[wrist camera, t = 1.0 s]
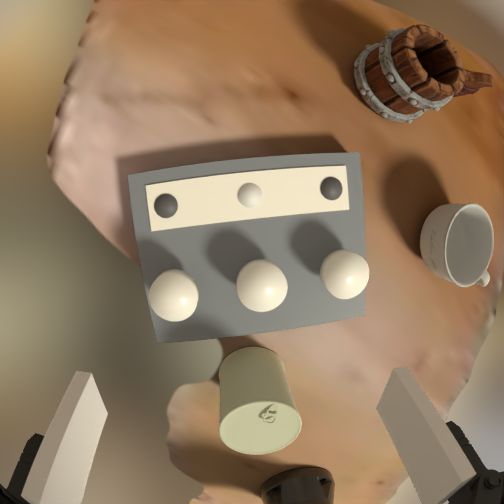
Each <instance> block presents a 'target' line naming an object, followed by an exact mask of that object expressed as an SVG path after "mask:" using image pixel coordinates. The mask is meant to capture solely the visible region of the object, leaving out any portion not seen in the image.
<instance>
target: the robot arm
mask: <svg viewBox="0 0 504 504" xmlns="http://www.w3.org/2000/svg"><path fill="white" fill-rule="evenodd" d="M376 409H377V411H378V413H379V415H380V417H381V419H382V421H383V423H384V425H385V427H386V429H387V431H388V433H389V435H390V437H391V439H392V441H393V443H394V445H395V447H396V449H397V451H398V453H399V455H400V457H401V459H402V462H403V464H404V466H405V468H406V470H407V472H408V474H409V476H410V479H411V481H412V483H413V485H414V487H415V489H416V492H417V494H418V496H419V498H420V500H421V503H422V504H443V503H444V502H445V501H447V500H448V501H449V503H448V504H504V472H498V471H496V470H488V469H487V468H486V467H485V466H484V464H483V463H482V461H481V460H480V458H479V456H478V455H477V453H476V452H475V450H474V448H473V447H472V445H471V444H469V443H470V442H469V441H468V439H467V438H466V437H465V435H464V433H463V431H462V430H461V428H460V427H459V426H457V425H456V424H455V423H453V422H452V421H450V422H447V423H445V422H444V420H443V419H442V417H441V416H440V414H439V413H438V411H437V410H436V408H435V407H434V405H433V404H432V402H431V401H430V399H429V398H428V396H427V395H426V393H425V392H424V390H423V389H422V388H421V386H420V385H419V383H418V382H417V380H416V379H415V377H414V376H413V375H412V373H411V372H410V370H409V369H408V367H407V366H405V367H400V368H395V369H393V371H392V373H391V376H390V378H389V381H388V383H387V385H386V388H385V390H384V392H383V394H382V397H381V399H380V401H379V403H378V405H377V408H376ZM107 415H108V413H107V411H106V409H105V406H104V404H103V401H102V399H101V396H100V394H99V391H98V389H97V386H96V384H95V381H94V378H93V376H92V373H87V372H80V371H76V373H75V375H74V377H73V379H72V381H71V383H70V384H69V387H68V389H67V390H66V392H65V394H64V396H63V398H62V400H61V402H60V405H59V406H58V409H57V411H56V413H55V415H54V417H53V419H52V421H51V423H50V426H49V427H48V430H47V432H46V434H45V436H42V435H39V434H36V433H35V434H34V435H33V436H32V437H31V438H30V439H29V440H28V441H27V443H26V445H25V448H24V450H23V453H22V454H21V457H20V461H18V464H17V466H16V468H15V471H14V473H13V476H12V478H11V481H10V483H9V486H8V488H7V489H5V488H4V487H3V486H2V485H1V484H0V504H81V502H82V498H83V494H84V491H85V487H86V483H87V479H88V475H89V472H90V469H91V465H92V462H93V458H94V455H95V452H96V449H97V445H98V442H99V439H100V436H101V433H102V430H103V427H104V424H105V420H106V418H107ZM334 487H335V484H334V480H333V477H332V475H331V473H330V472H329V471H327V470H325V469H322V468H316V467H307V468H299V469H294V470H290V471H286V472H283V473H280V474H278V475H276V476H274V477H272V478H270V479H269V480H268V481H266V482H265V483H264V484H263V486H262V487H261V497H262V501H263V503H264V504H333V501H334Z"/></svg>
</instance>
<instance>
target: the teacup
mask: <svg viewBox="0 0 504 504" xmlns="http://www.w3.org/2000/svg"><path fill="white" fill-rule="evenodd" d="M493 247H494V234H493V227H492V223H491V220H490V217H489V215H488V213H487V212H486V211H485V210H484V208H482V207H481V206H480V205H478V204H474V203H469V204H445V205H441V206H439V207H437V208H436V209H434V210H433V211H432V212H431V213H430V214H429V215H428V217H427V218H426V220H425V222H424V224H423V227H422V230H421V235H420V250H421V255H422V258H423V261H424V263H425V264H426V266H427V267H428V269H429V270H430V271H431V272H433V273H434V274H435V275H437V276H439V277H441V278H443V279H446V280H448V281H451V282H453V283H455V284H456V285H458V286H461V287H468V286H471V285H473V284H475V283H476V284H478V285H480V286H486V285H487V284H488V282H489V280H490V275H489V273H488V272H487V271H486V270H487V268H488V265H489V263H490V260H491V257H492V253H493Z"/></svg>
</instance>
